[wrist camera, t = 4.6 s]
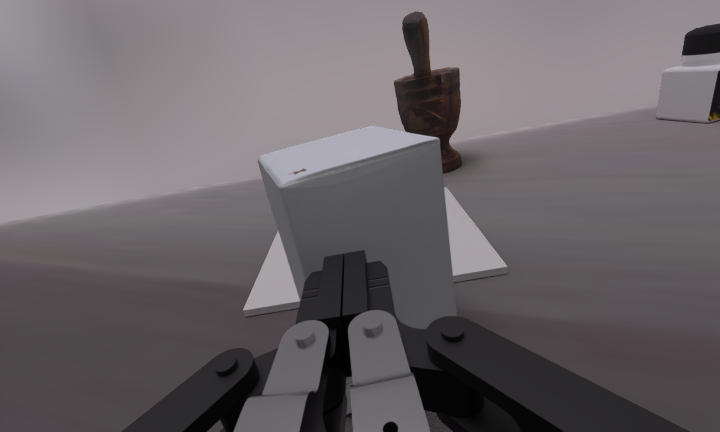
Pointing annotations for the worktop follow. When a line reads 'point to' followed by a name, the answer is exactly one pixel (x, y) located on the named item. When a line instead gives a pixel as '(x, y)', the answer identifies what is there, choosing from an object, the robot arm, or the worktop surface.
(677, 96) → the medicine bottle
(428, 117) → the mortar and pestle
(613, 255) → the worktop surface
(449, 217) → the mat
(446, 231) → the supplement box
